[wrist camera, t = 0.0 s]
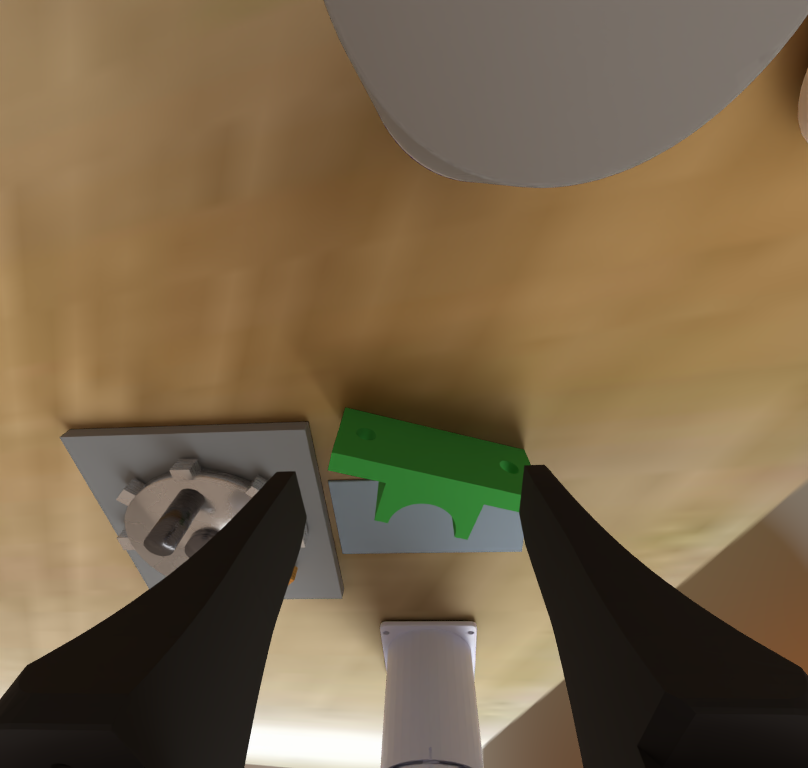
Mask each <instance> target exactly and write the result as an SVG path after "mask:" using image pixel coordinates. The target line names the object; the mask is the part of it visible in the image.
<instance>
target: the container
mask: <svg viewBox="0 0 808 768" xmlns="http://www.w3.org/2000/svg"><path fill="white" fill-rule="evenodd" d="M324 3H325V5H326V8H327V11H328V13H329V16H330V19H331V21H332V23H333V26H334V28H335V30H336V33H337V35H338V37H339V40H340V42H341V44H342V46H343V48H344V50H345V52H346V54H347V56H348V57H349V59H350V61H351V63H352V65H353V67H354V69H355V71H356V72H357V74H358V76H359V78H360V80H361V82H362V84H363V86H364V88H365V89H366V91H367V93H368V95H369V97H370V99H371V101H372V103H373V104H374V106H375V108H376V110H377V112H378V114H379V116H380V118H381V120H382V122H383V124H384V125H385V127H386V129H387V130H388V132H389V133H390V135H391V136H392V137H393V139H394V140H395V141H396V142H397V144H398V145H399V146H400V147H401V148H402V149H403V150H404V151H405V152H406V153H407V154H408V155H409V156H410V157H411V158H412V159H414V160H415V161H416V162H418V163H419V164H420V165H422V166H424V167H425V168H427V169H429V170H430V171H432V172H435V173H437V174H439V175H441V176H444V177H447V178H450V179H454V180H459V181H465V182H478V183H488V184H497V185H507V186H517V187H533V188H550V187H563V186H571V185H577V184H582V183H587V182H591V181H595V180H599V179H602V178H605V177H608V176H612V175H615V174H618V173H620V172H623V171H625V170H628V169H630V168H633V167H635V166H637V165H639V164H641V163H643V162H646V161H648V160H650V159H652V158H653V157H655V156H657V155H659V154H660V153H662V152H664V151H666V150H668V149H669V148H671V147H673V146H674V145H676V144H677V143H679V142H680V141H682V140H684V139H685V138H687V137H688V136H689V135H691V134H692V133H694V132H695V131H696V130H698V129H699V128H700V127H702V126H703V125H704V124H706V123H707V122H708V121H709V120H710V119H712V118H713V117H714V116H715V115H717V114H718V113H719V112H720V111H722V110H723V109H724V108H725V107H726V106H727V105H728V104H729V103H730V102H731V101H733V100H734V99H735V98H736V97H737V96H738V95H739V94H740V93H741V92H742V91H743V90H744V89H745V88H746V87H747V86H748V85H749V84H750V83H751V82H752V81H753V80H754V79H755V78H756V77H757V76H758V75H759V74H760V73H761V72H762V71H763V70H764V69H765V68H766V67H767V65H768V64H769V63H770V62H771V61H772V60H773V58H774V57H775V56H776V55H777V54H778V53H779V52H780V50H781V49H782V48H783V47H784V45H785V44H786V43H787V42H788V40H789V39H790V38H791V37H792V35H793V34H794V33H795V31H796V30H797V29H798V27H799V26H800V25H801V23H802V22H803V20H804V19H805V18H806V16H807V15H808V0H324Z"/></svg>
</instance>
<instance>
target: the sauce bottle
mask: <svg viewBox="0 0 808 768" xmlns="http://www.w3.org/2000/svg"><path fill="white" fill-rule="evenodd" d="M798 122H799V126H800V130H801V133H802V135H803V137H804V138H805V140H806V141H807V143H808V68H807V71H806V74H805V77H804V80H803V83H802V86H801V91H800V97H799V102H798Z"/></svg>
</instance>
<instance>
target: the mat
mask: <svg viewBox="0 0 808 768" xmlns="http://www.w3.org/2000/svg"><path fill="white" fill-rule="evenodd" d="M378 483H379V481H374V480H329V481H328V484H329V488H330V493H331V498H332V503H333V508H334V513H335V518H336V523H337V528H338V533H339V538H340V543H341V548H342V553H343V554H366V553H443V552H520V551H522V546H523V538H524V535H523V531H522V526H521V521H520V516H519V512H515V511H511V510H506V509H502V508H497V507H493V506H488V505H483V508H482V510H481V512H480V514H479V516H478V518H477V521H476V523H475V525H474V527H473V529H472V531H471V533H470V536H469V538H468V540H465V539H461V538H456V537H454V529H453V521H452V516H451V515H450V514H449V513H448V512H446V511H445V510H444V509H442V508H440V507H437V506H434V505H430V504H413V505H409V506H406V507H403V508H401V509H400V510H398V511H397V512H396V513H394V514H393V515H392V517H391V518H390V520H389V522H388V523H384V522H380V521H375V520H374V519H375V510H376V501H377V492H378Z"/></svg>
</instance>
